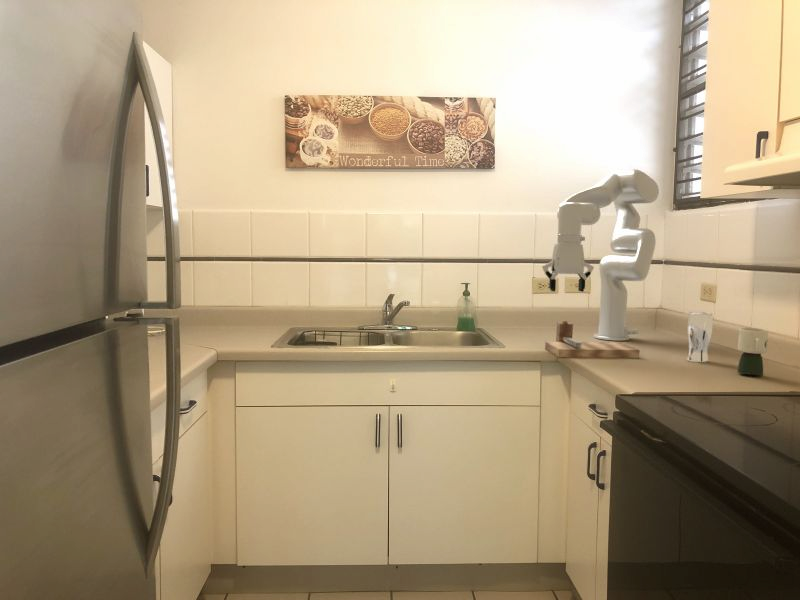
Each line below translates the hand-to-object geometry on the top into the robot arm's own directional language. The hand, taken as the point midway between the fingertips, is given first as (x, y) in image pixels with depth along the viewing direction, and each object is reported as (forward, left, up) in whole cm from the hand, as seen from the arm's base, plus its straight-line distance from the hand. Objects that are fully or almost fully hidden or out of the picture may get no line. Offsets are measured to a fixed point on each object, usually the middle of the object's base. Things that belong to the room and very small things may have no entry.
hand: (566, 291), depth 210 cm
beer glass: (-36, +20, -20) cm, 45 cm away
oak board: (-6, +9, -20) cm, 22 cm away
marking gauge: (0, +6, -19) cm, 20 cm away
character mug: (-40, +40, -20) cm, 60 cm away
